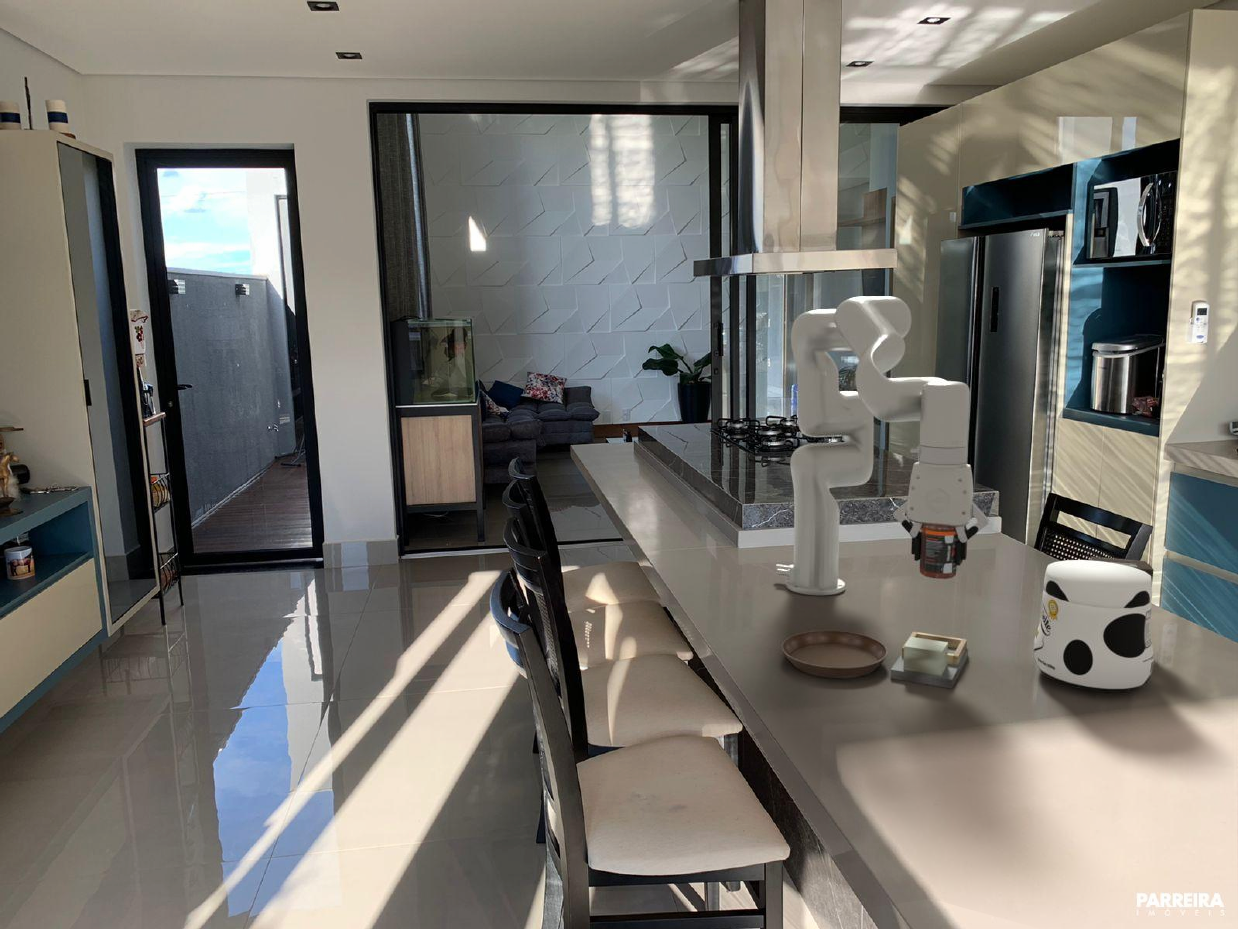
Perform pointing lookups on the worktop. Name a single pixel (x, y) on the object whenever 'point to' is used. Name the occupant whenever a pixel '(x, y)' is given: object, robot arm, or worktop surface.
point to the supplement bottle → (938, 551)
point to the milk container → (1095, 626)
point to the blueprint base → (929, 677)
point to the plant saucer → (834, 653)
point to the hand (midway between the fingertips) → (938, 560)
